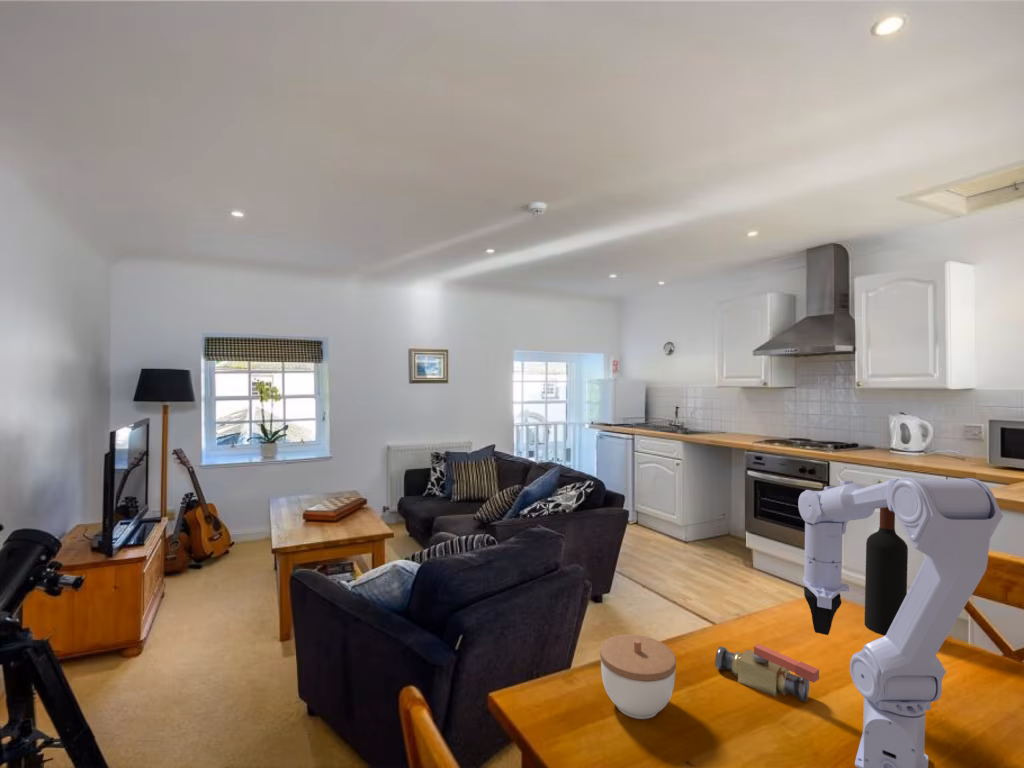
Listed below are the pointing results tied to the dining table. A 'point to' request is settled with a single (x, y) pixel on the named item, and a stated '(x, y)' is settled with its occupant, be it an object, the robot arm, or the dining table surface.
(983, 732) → the dining table surface
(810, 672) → the lever
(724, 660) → the pipe valve
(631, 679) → the lidded bowl
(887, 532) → the wine bottle
